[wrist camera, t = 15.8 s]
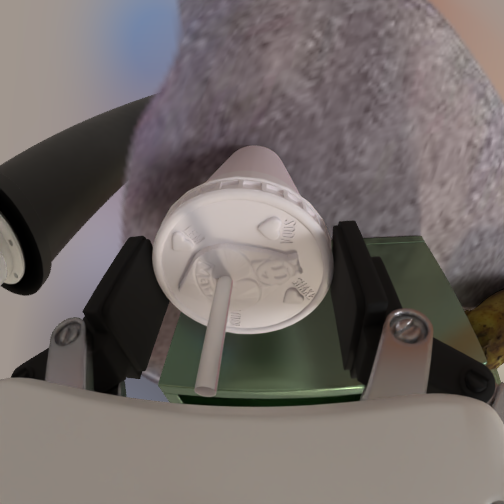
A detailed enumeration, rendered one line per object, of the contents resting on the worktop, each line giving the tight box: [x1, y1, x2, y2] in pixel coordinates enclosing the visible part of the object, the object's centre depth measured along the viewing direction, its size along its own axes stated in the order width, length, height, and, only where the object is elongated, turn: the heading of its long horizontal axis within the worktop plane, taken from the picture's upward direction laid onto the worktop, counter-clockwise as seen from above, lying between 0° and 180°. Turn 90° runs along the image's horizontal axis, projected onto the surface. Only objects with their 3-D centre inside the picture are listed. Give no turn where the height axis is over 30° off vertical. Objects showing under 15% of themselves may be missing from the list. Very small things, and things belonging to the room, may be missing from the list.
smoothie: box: [152, 145, 334, 397], centre depth 12 cm, size 6×6×14 cm
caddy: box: [158, 236, 487, 407], centre depth 21 cm, size 17×14×12 cm
